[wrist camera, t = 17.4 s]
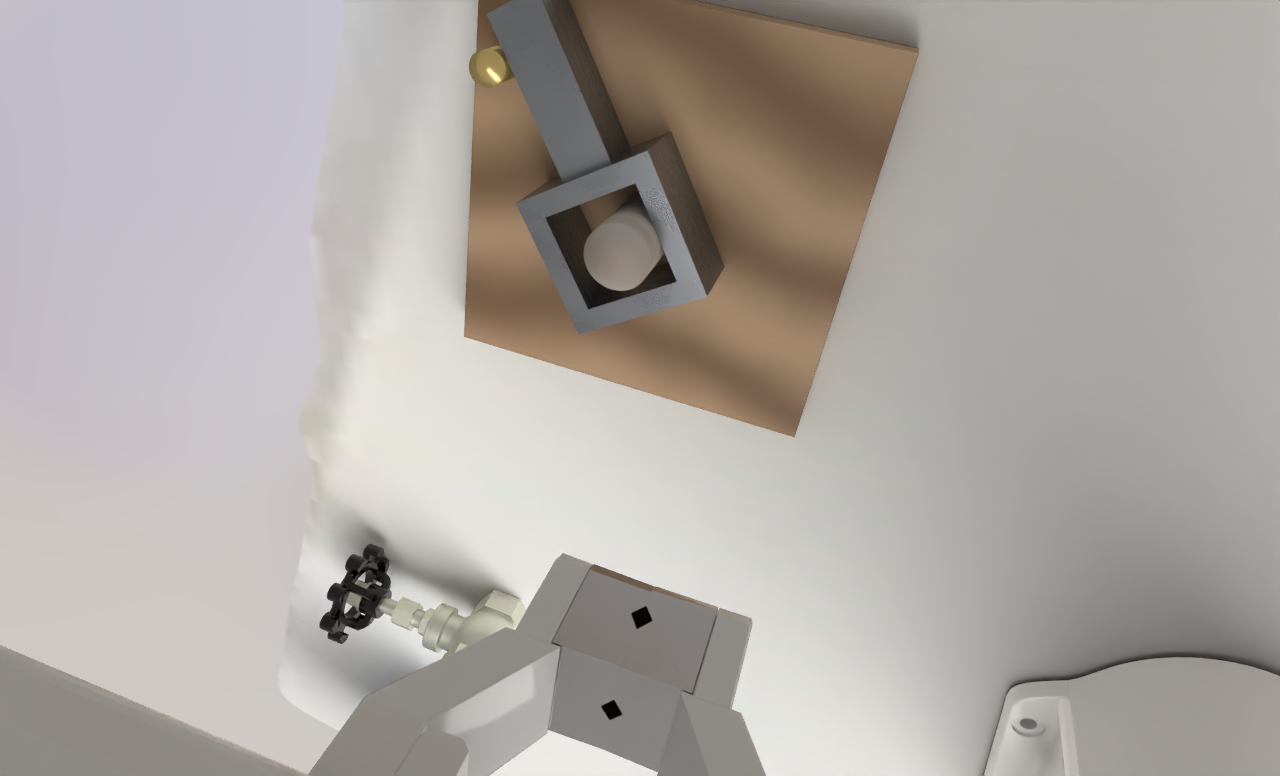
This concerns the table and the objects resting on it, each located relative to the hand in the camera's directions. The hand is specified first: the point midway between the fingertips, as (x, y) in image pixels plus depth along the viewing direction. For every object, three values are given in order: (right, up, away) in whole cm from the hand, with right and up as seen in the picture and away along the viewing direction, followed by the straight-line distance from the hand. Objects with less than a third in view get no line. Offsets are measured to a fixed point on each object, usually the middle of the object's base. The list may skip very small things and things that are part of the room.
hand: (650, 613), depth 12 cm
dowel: (-5, +18, +24) cm, 31 cm away
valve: (-13, -10, +44) cm, 47 cm away
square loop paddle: (-2, +14, +24) cm, 27 cm away
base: (+1, +12, +26) cm, 28 cm away
